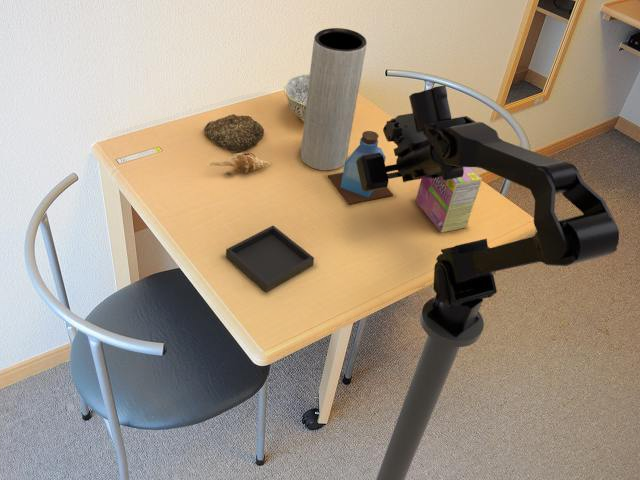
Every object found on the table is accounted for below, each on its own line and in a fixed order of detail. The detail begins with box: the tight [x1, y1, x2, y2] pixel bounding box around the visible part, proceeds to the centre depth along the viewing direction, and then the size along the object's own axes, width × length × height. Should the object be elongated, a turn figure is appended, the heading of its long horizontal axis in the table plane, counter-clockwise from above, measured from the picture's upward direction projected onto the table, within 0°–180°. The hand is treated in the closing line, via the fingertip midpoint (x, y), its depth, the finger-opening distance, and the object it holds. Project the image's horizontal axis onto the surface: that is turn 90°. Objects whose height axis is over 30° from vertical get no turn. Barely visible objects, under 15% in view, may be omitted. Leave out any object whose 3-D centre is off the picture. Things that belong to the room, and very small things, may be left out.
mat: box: [327, 172, 394, 206], centre depth 136 cm, size 10×10×1 cm
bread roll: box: [203, 113, 265, 153], centre depth 147 cm, size 13×12×5 cm
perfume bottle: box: [341, 130, 386, 198], centre depth 132 cm, size 6×6×12 cm
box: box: [415, 167, 483, 233], centre depth 126 cm, size 10×6×12 cm, turn 17°
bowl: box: [283, 73, 310, 123], centre depth 152 cm, size 16×16×8 cm
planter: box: [300, 27, 368, 171], centre depth 134 cm, size 10×10×27 cm
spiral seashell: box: [207, 151, 273, 177], centre depth 137 cm, size 14×5×4 cm, turn 127°
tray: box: [225, 225, 315, 293], centre depth 118 cm, size 11×11×2 cm
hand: (386, 174), depth 125 cm, fingers open, 9 cm apart
